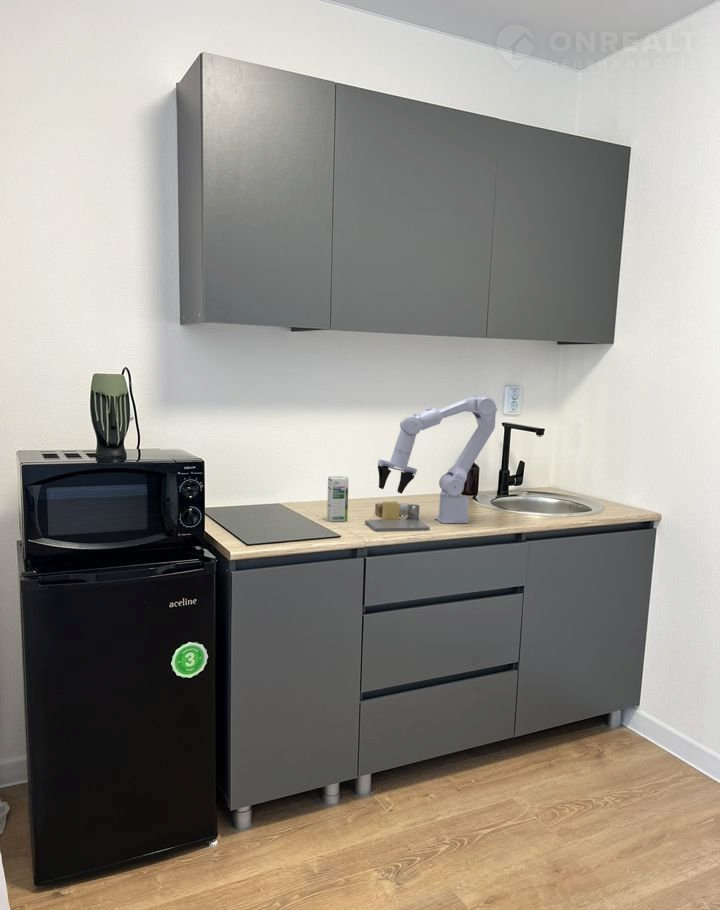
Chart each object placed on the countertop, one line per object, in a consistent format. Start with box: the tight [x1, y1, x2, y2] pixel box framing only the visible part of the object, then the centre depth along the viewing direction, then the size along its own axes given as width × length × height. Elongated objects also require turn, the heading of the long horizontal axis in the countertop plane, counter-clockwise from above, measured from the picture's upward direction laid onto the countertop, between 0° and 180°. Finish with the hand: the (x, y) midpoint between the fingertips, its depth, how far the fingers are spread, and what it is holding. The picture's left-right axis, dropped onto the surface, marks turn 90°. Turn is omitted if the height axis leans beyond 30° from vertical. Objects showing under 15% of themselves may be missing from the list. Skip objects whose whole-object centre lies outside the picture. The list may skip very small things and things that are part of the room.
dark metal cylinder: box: [406, 503, 420, 521], centre depth 237 cm, size 4×4×5 cm
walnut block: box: [374, 502, 383, 518], centre depth 242 cm, size 5×5×4 cm
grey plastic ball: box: [398, 502, 410, 516], centre depth 244 cm, size 4×4×4 cm
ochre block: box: [381, 501, 400, 520], centre depth 235 cm, size 4×4×6 cm
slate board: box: [364, 519, 431, 533], centre depth 225 cm, size 18×12×1 cm, turn 105°
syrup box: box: [326, 475, 350, 522], centre depth 232 cm, size 6×6×14 cm
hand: (390, 490), depth 234 cm, fingers open, 7 cm apart
